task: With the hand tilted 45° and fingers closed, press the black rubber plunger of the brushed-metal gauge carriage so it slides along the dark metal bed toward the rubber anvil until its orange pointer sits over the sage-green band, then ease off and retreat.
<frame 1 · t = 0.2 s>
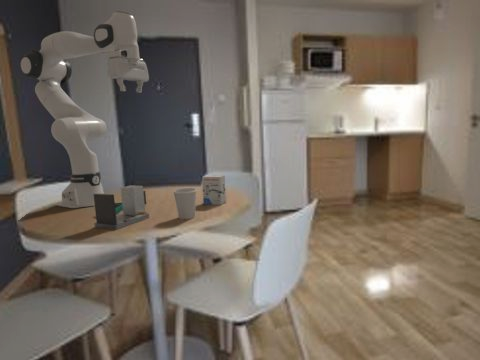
hand: (131, 91, 144), 47 cm above the table, tool pointing down, fingers open, 8 cm apart
carriage: (137, 200, 132), point 7 cm above the table, slide at 0.0 cm
gauge bed: (123, 222, 128), on the table
ink box: (214, 203, 151), on the table
digital multimeter: (111, 213, 145), on the table
dixie cup: (187, 218, 130), on the table
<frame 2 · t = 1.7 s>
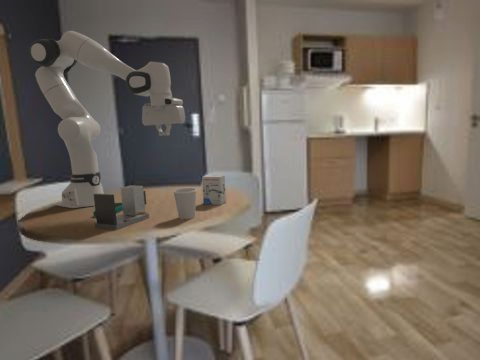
hand: (164, 135, 152), 29 cm above the table, tool pointing down, fingers closed
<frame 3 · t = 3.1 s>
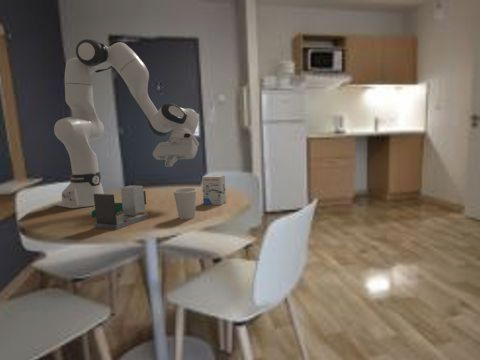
hand: (168, 165, 150), 17 cm above the table, tool tilted 45°, fingers closed
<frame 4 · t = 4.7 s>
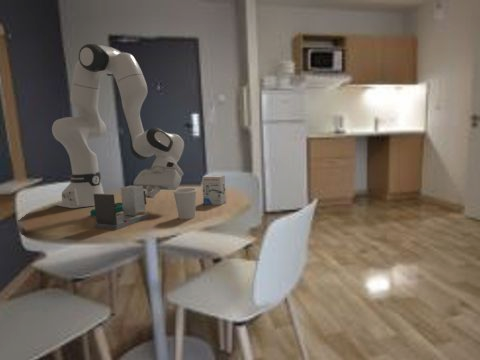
hand: (149, 197, 140), 6 cm above the table, tool tilted 45°, fingers closed
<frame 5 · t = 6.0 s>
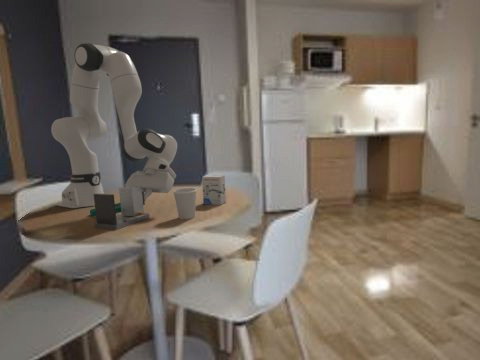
hand: (140, 200, 136), 6 cm above the table, tool tilted 45°, fingers closed, pressing on carriage
carriage: (135, 200, 131), point 7 cm above the table, slide at 0.8 cm, touching gripper
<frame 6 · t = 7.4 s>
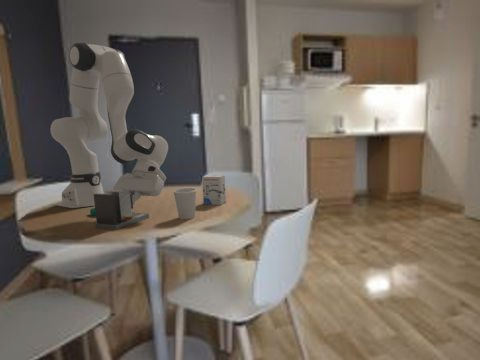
hand: (128, 203, 130), 6 cm above the table, tool tilted 45°, fingers closed, pressing on carriage
carriage: (123, 204, 126), point 7 cm above the table, slide at 6.9 cm, touching gripper
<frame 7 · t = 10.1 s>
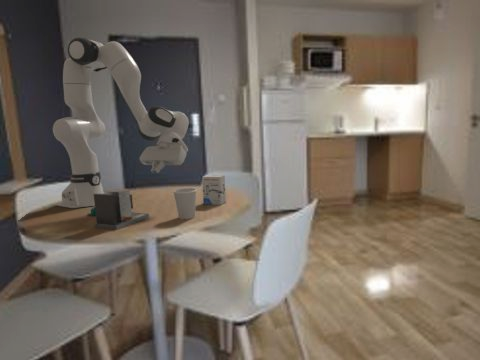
hand: (154, 171, 143), 15 cm above the table, tool tilted 45°, fingers closed
carriage: (123, 204, 126), point 7 cm above the table, slide at 7.0 cm
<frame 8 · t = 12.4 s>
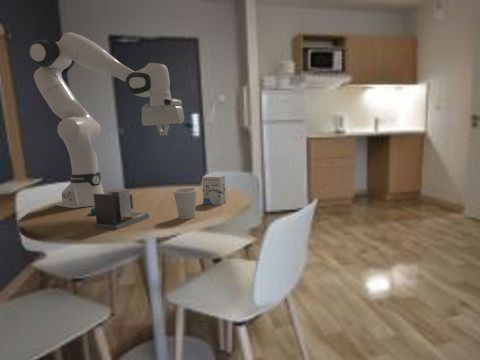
hand: (163, 135, 155), 29 cm above the table, tool pointing down, fingers closed
at the end: carriage slide at 7.0 cm; carriage touching nothing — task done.
